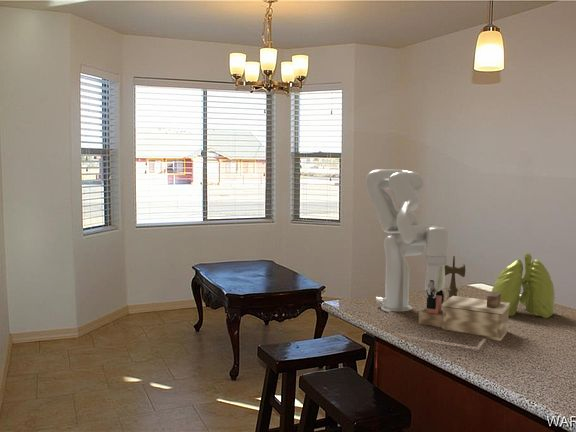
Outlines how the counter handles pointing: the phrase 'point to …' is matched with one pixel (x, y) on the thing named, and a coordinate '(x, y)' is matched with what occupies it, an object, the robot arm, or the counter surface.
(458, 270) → the kendama
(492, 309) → the lid
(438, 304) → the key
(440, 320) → the wooden box
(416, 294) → the counter surface
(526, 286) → the lungs
